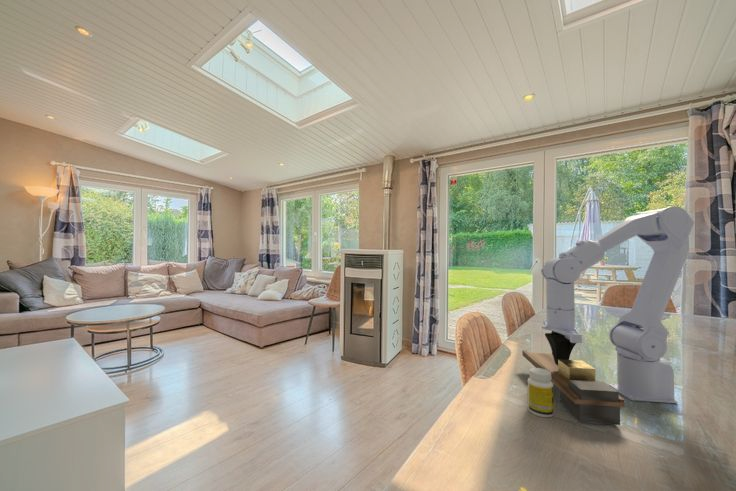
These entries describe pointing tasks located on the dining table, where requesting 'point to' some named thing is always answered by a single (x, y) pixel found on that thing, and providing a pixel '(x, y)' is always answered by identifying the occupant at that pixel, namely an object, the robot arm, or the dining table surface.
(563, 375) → the block
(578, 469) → the dining table surface
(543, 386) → the supplement bottle
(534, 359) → the beam
